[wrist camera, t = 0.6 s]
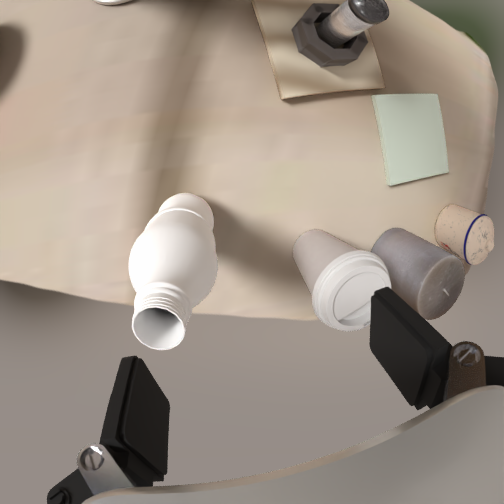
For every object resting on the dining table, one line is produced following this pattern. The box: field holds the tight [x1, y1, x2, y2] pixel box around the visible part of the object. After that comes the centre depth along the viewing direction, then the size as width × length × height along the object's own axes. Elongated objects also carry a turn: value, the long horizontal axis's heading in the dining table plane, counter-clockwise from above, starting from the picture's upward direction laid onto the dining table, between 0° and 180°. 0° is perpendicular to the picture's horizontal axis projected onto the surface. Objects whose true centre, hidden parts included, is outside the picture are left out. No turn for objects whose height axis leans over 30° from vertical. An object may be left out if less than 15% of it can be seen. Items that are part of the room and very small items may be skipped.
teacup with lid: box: [435, 204, 494, 265], centre depth 39 cm, size 12×9×12 cm
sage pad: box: [371, 94, 449, 186], centre depth 37 cm, size 14×14×1 cm
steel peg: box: [315, 0, 389, 49], centre depth 23 cm, size 4×4×13 cm
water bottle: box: [129, 193, 218, 350], centre depth 26 cm, size 7×7×25 cm
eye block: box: [252, 0, 385, 100], centre depth 28 cm, size 16×16×6 cm
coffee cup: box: [293, 229, 391, 331], centre depth 35 cm, size 10×10×15 cm
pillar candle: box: [371, 228, 465, 320], centre depth 38 cm, size 10×10×15 cm
